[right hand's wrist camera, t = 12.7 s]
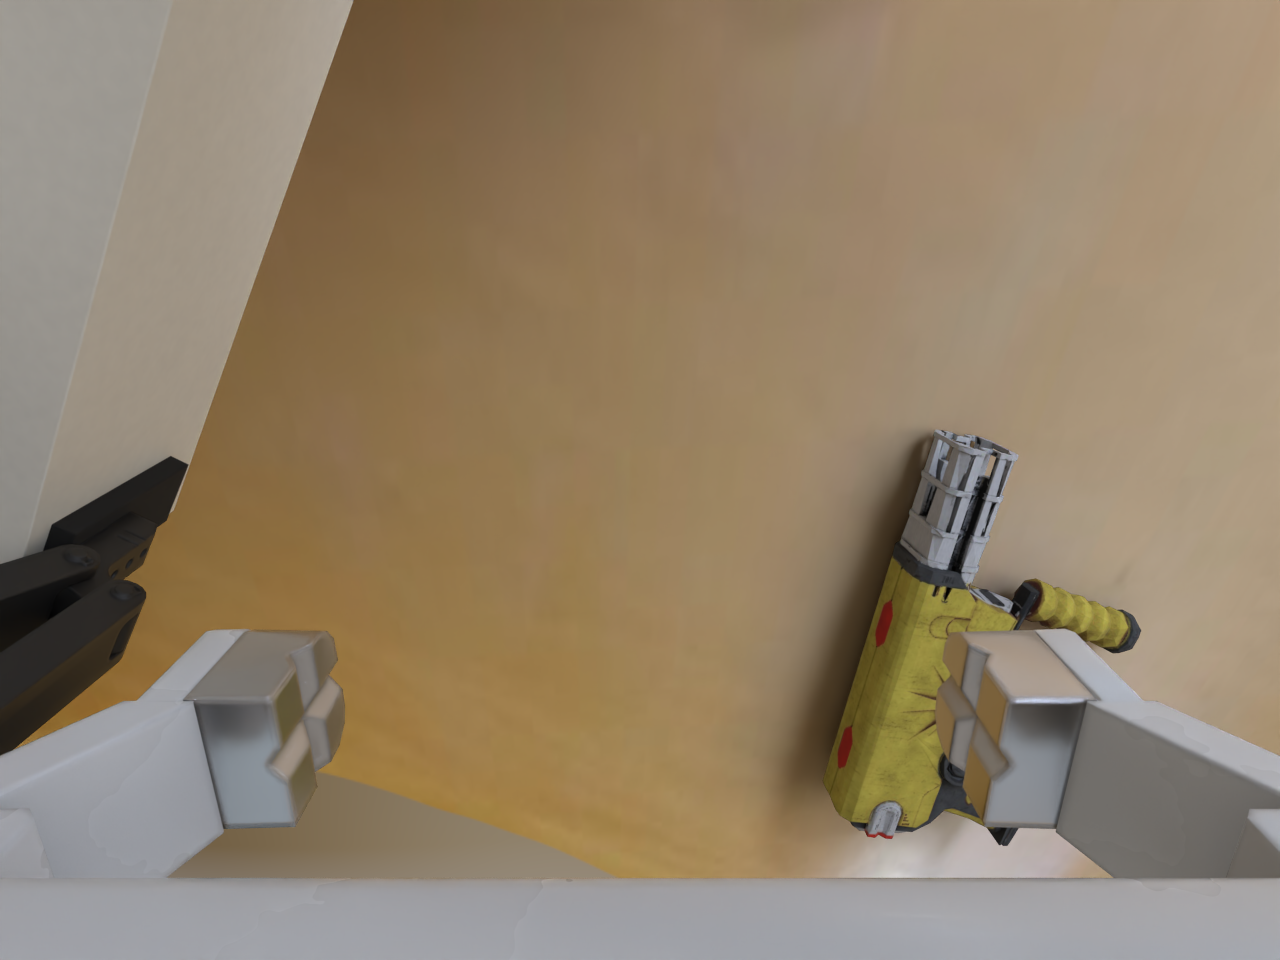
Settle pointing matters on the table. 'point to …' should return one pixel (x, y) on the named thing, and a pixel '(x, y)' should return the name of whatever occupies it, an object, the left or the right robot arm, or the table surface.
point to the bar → (134, 225)
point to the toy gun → (938, 645)
